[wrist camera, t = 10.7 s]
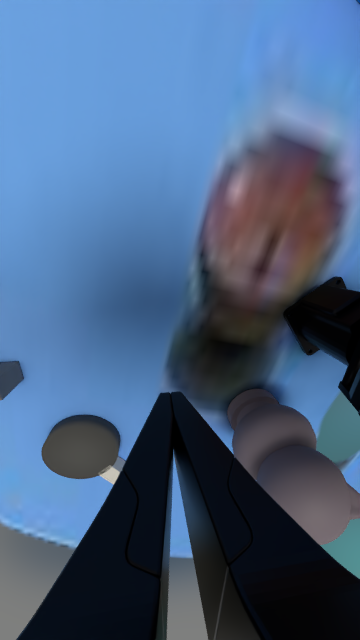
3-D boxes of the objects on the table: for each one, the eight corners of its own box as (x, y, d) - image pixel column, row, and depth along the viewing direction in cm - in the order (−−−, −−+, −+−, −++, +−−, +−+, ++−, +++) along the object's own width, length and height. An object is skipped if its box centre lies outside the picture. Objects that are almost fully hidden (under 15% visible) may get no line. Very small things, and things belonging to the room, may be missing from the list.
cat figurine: (263, 369, 23) (366, 483, 12) (294, 406, 26) (402, 528, 14) (206, 411, 24) (251, 551, 13) (241, 442, 27) (304, 582, 16)
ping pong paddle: (147, 451, 25) (146, 464, 24) (99, 483, 26) (96, 497, 25) (85, 403, 22) (80, 414, 20) (33, 441, 23) (24, 454, 21)
